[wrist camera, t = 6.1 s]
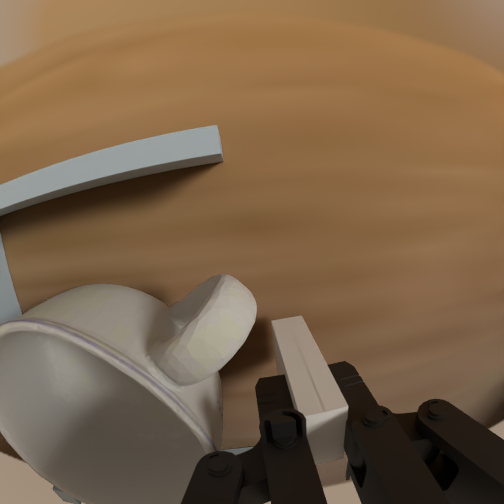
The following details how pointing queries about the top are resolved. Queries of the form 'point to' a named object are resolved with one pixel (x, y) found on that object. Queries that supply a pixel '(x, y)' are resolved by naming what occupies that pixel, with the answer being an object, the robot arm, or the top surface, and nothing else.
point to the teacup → (121, 387)
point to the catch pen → (97, 174)
